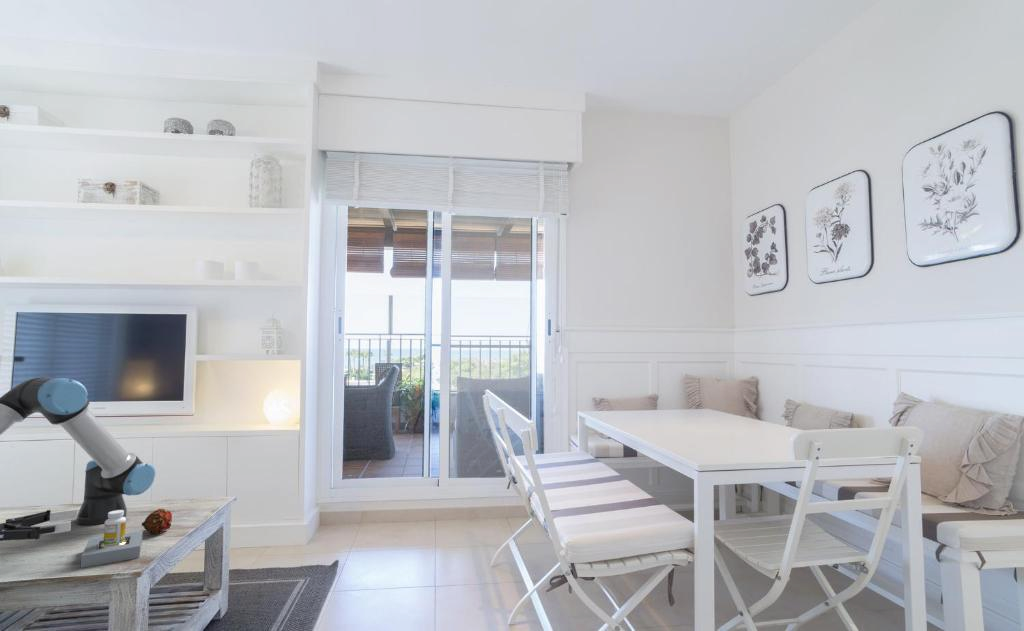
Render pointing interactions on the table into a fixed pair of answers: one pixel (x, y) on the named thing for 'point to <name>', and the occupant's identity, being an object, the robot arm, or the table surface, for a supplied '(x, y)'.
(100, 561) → the socket plate
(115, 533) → the supplement bottle
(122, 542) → the plunger disc
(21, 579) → the table surface
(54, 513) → the robot arm
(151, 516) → the dragon fruit
